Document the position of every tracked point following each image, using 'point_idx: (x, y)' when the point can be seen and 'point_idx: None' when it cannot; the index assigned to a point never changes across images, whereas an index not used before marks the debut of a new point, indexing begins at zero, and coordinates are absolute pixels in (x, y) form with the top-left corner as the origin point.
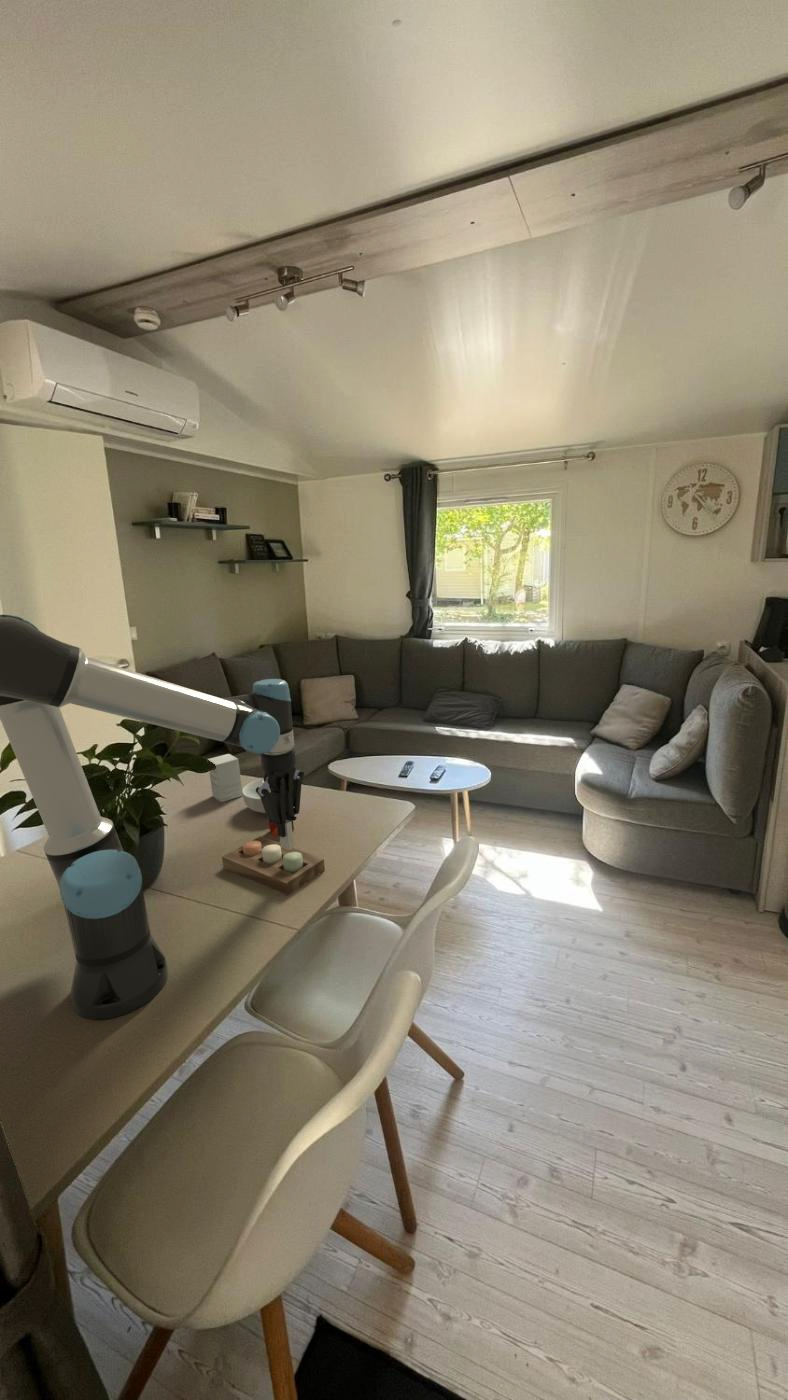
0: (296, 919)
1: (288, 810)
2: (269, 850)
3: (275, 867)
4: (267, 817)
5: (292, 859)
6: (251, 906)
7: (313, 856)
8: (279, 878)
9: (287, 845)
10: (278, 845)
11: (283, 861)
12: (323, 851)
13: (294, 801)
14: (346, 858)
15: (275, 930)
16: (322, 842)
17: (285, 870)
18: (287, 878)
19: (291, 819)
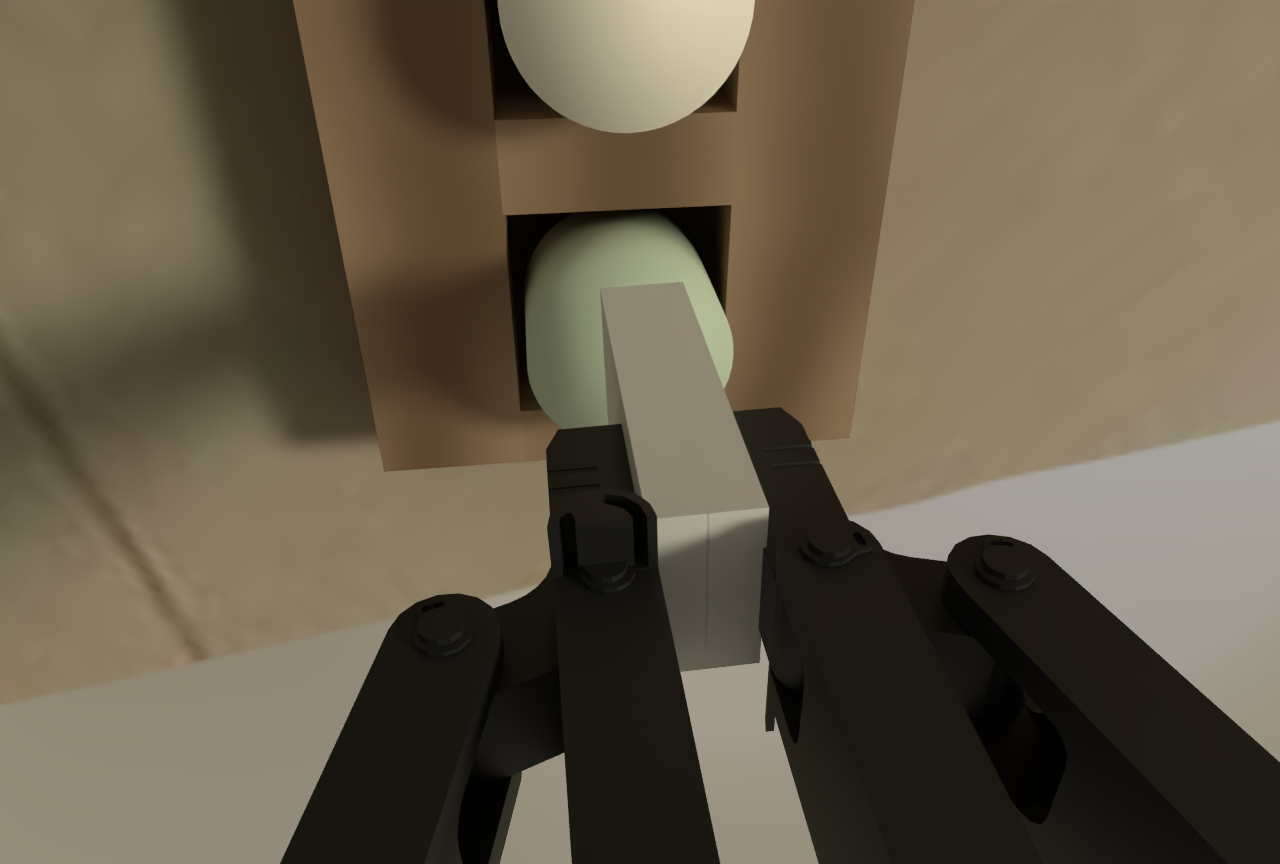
0: (270, 622)
1: (811, 798)
2: (586, 12)
3: (492, 192)
4: (346, 730)
5: (591, 402)
6: (87, 295)
7: (845, 341)
8: (389, 374)
9: (611, 424)
10: (746, 14)
11: (531, 323)
12: (1088, 150)
13: (1072, 862)
14: (1035, 389)
15: (102, 612)
16: (1256, 3)
17: (525, 303)
18: (439, 424)
19: (768, 688)
